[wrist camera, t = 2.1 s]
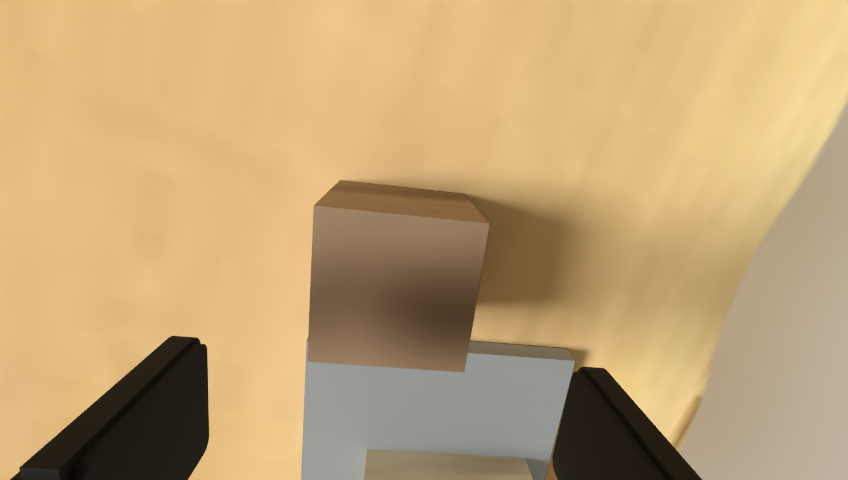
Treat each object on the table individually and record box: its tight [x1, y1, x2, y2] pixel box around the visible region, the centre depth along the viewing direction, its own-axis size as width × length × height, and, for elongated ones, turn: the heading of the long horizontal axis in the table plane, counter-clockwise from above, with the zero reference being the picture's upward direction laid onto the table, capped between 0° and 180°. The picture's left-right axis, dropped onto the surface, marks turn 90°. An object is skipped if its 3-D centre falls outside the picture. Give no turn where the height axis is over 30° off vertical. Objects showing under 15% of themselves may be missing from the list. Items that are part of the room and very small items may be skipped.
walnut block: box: [307, 180, 490, 373], centre depth 17 cm, size 6×6×6 cm
